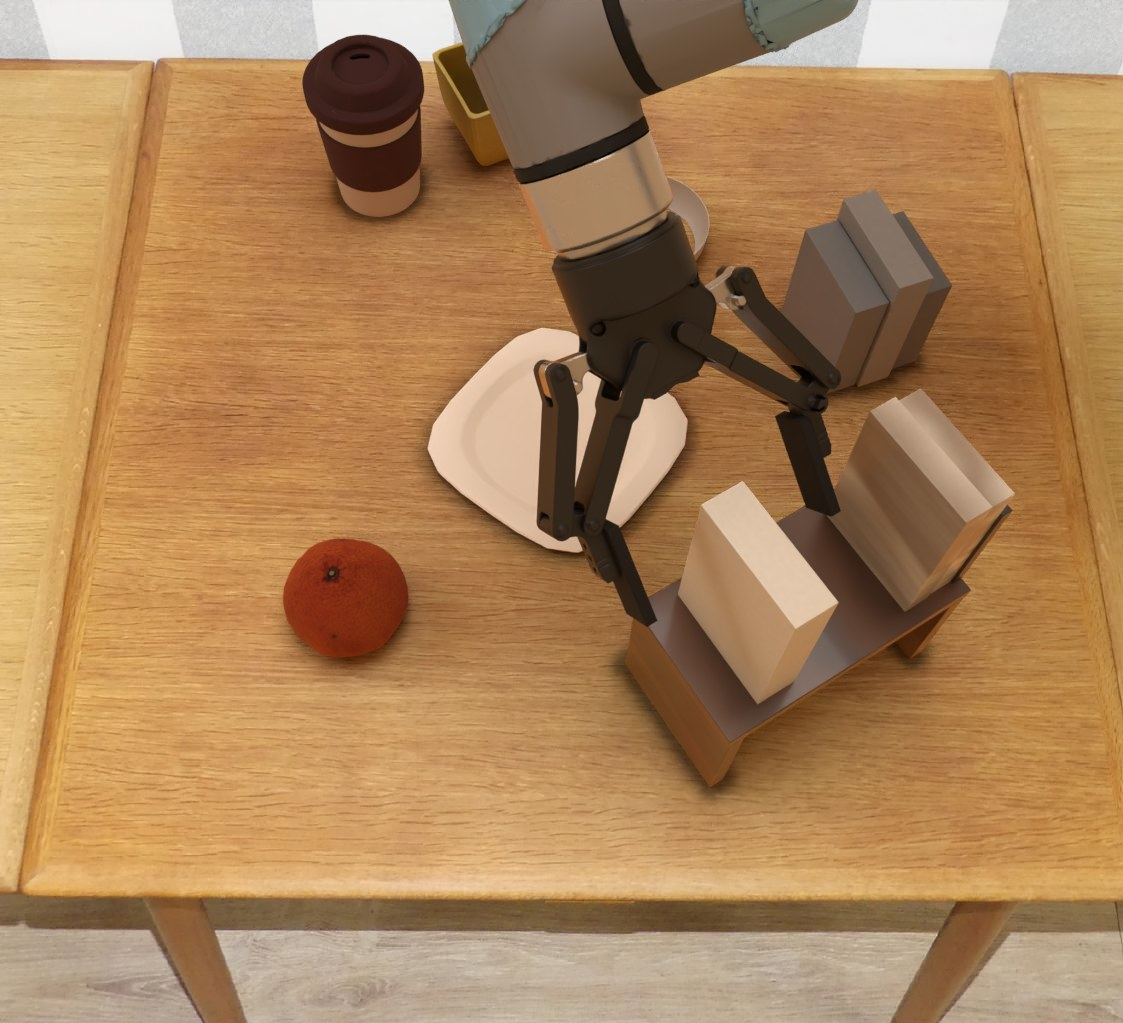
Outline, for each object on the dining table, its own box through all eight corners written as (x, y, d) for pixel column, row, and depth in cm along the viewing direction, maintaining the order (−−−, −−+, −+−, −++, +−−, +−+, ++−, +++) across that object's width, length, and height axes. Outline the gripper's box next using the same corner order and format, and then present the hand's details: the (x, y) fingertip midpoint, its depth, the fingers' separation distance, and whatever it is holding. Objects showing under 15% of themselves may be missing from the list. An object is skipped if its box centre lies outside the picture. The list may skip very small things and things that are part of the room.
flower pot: (560, 160, 115) (562, 87, 107) (475, 191, 113) (470, 118, 105) (520, 98, 118) (519, 22, 110) (437, 126, 116) (429, 51, 108)
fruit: (276, 655, 92) (254, 614, 85) (318, 552, 96) (301, 505, 89) (388, 685, 91) (376, 647, 84) (426, 580, 95) (417, 535, 88)
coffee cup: (402, 247, 110) (383, 123, 96) (306, 209, 111) (275, 82, 98) (453, 171, 114) (442, 43, 100) (360, 136, 115) (337, 5, 102)
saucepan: (682, 189, 113) (687, 160, 110) (749, 344, 105) (756, 318, 102) (571, 213, 112) (572, 184, 108) (630, 372, 104) (633, 346, 100)
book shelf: (832, 541, 97) (921, 361, 74) (921, 652, 93) (1044, 497, 70) (621, 667, 92) (649, 515, 69) (706, 791, 88) (764, 671, 65)
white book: (677, 594, 81) (700, 504, 70) (714, 572, 82) (743, 480, 71) (757, 704, 78) (795, 629, 66) (794, 681, 79) (839, 602, 67)
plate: (402, 460, 100) (400, 450, 98) (538, 317, 106) (538, 305, 105) (580, 585, 95) (581, 576, 93) (711, 426, 101) (713, 416, 100)
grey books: (776, 318, 107) (808, 209, 94) (867, 289, 108) (910, 179, 96) (824, 401, 103) (863, 300, 90) (917, 370, 104) (968, 266, 92)
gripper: (758, 146, 73) (857, 457, 81) (390, 326, 66) (536, 645, 74) (833, 138, 66) (933, 478, 74) (431, 337, 60) (587, 687, 67)
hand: (734, 562), depth 74 cm, fingers open, 13 cm apart
